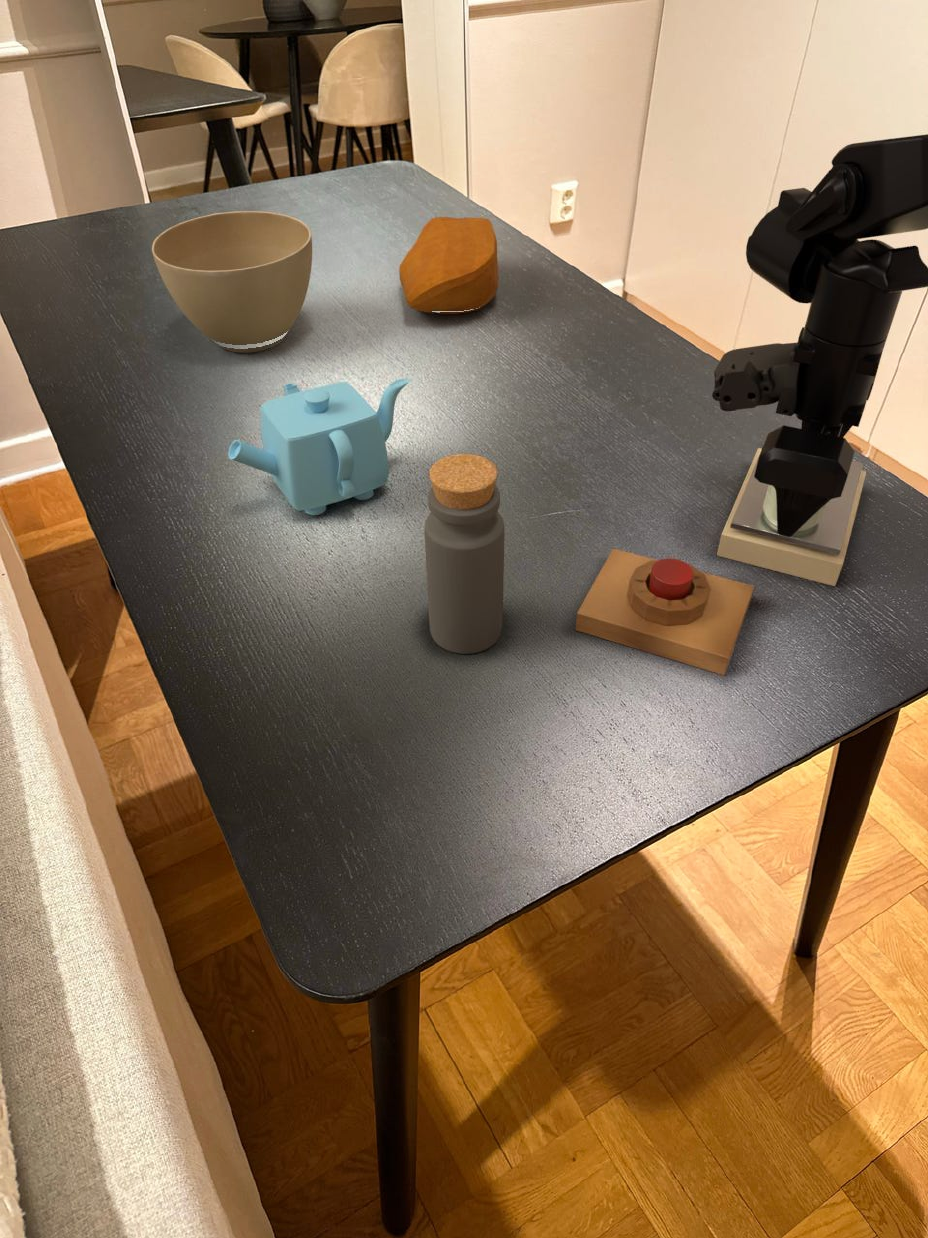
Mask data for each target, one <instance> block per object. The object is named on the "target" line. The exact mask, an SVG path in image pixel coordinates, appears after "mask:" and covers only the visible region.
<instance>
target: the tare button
mask: <svg viewBox="0 0 928 1238" xmlns="http://www.w3.org/2000/svg"><path fill="white" fill-rule="evenodd" d="M658 560H659V561H657V562H655V563H654V565H653V566H652V569H651V575H650V581H649V589H650V591H651V592H652V594H654V595H655V596H656V597H659V598H663V599H666V600H682V599H684V598H685V597H687V596H688V594H689V593H690V589H691V584H692V579H693V570H692V568H691V567H690V566H689V565H690V564H689V563H687V562H685V561H684V560H681V559H677V558H671V557H670V558H669V557H668V558H662V559H658ZM688 564H689V565H688Z"/></svg>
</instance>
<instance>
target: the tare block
mask: <svg viewBox="0 0 928 1238" xmlns="http://www.w3.org/2000/svg"><path fill="white" fill-rule="evenodd" d="M659 560H660V559H656V558H655V559H654V558H651V557H648V556H643V555H639V554H635V553H632V552H630V551H629V552H628V551H625V550H621V549H619V548H618V549H617V548H612V549H611V551H610V553H609V555H608V556H607V558H606V560H605V562H604V564H603V565H602V567H601V569H600V571H599V573H598V575H597V576H596V577H595V580H594V582H593V584H592V585H591V587H590V589H589V590H588V592H587V594H586V595H585V598H584V599H583V602H582V603H581V605H580V606H579V609H578V610H577V612H576V619H575V629H574V630H575V631H577V632H580V633H583V634H587V635H589V636H590V635H591V636H593V637H597V638H599V639H604V640H606V641H609V642H613V643H616V644H619V645H622V646H626V647H630V648H632V649H636V650H640V651H643V652H646V653H650V654H653V655H656V656H659V657H662V658H665V659H669V660H673V661H675V662H679V663H682V664H686V665H689V666H692V667H695V668H699V669H701V670H705V671H709V672H712V673H716V674H719V675H722V676H725V675H726V673H727V670H728V668H729V664H730V661H731V659H732V657H733V653H734V651H735V648H736V644H737V642H738V639H739V636H740V633H741V630H742V628H743V625H744V622H745V620H746V616H747V613H748V611H749V608H750V605H751V601H752V598H753V594H754V591H755V588H756V587H755V585H752V584H748V583H744V582H740V581H736V580H733V579H729V578H727V577H726V578H725V577H722V576H719V575H716V574H715V575H714V574H711V573H707V572H703V571H700V570H698V569H697V568H696V567H694V566H693V565H692V564H689V563H687V564H688V565H689V566H690V567H691V568H692V570H693V579H692V584H691V589H690V593H689V594H688V596H687V597H685V598H684V599H682V600H666V599H663V598H659V597H656V596H655V595H654V594H652V592H651V591H650V589H649V581H650V575H651V569H652V566H653V565H654V563H655V562H657V561H659Z"/></svg>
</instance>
